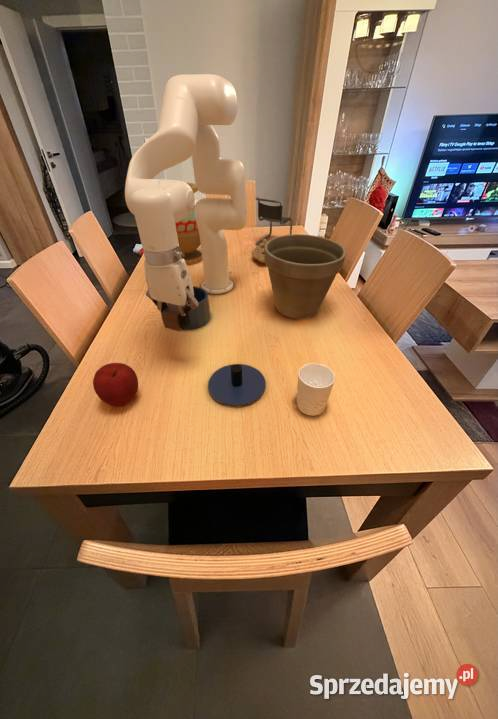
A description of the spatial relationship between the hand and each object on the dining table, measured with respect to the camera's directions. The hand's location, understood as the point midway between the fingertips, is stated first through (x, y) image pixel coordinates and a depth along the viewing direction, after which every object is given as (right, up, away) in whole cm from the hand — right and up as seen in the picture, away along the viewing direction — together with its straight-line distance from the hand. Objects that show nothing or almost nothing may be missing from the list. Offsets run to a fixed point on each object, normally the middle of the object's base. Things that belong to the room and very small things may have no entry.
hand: (176, 323), depth 76 cm
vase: (-10, +38, +64) cm, 75 cm away
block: (0, 0, 0) cm, 0 cm away
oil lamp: (+25, +36, +62) cm, 76 cm away
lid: (+15, -16, 0) cm, 22 cm away
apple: (-13, -19, -3) cm, 23 cm away
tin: (-1, +5, +25) cm, 25 cm away
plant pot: (+36, +9, +29) cm, 47 cm away
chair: (+31, +52, +80) cm, 101 cm away
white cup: (+33, -20, -4) cm, 39 cm away
